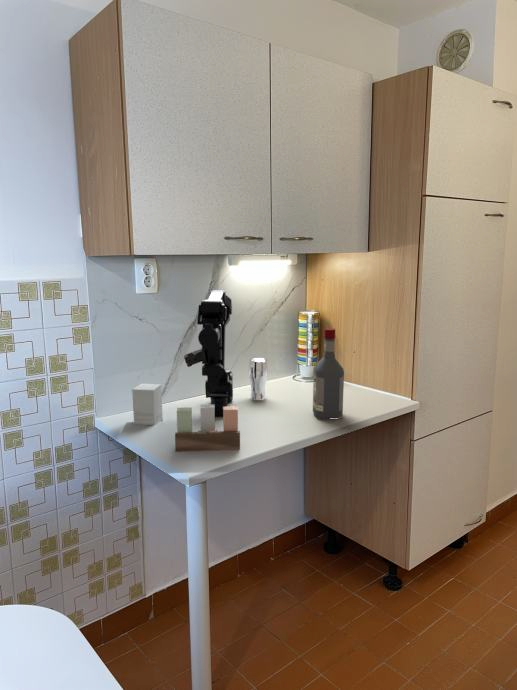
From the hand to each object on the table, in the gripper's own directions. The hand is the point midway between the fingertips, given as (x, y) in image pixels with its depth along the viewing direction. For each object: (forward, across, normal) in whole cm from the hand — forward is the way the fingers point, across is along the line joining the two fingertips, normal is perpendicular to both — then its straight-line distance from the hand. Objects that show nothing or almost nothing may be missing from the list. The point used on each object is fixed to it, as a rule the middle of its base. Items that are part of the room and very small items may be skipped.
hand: (212, 391), depth 166 cm
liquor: (+13, -13, +39) cm, 43 cm away
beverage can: (+13, -32, +4) cm, 35 cm away
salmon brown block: (+12, +14, +5) cm, 19 cm away
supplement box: (+13, -9, -21) cm, 27 cm away
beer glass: (+13, -35, +17) cm, 41 cm away
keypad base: (+13, +14, -2) cm, 19 cm away
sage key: (+12, +14, -8) cm, 20 cm away
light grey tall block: (+12, +12, -2) cm, 17 cm away
